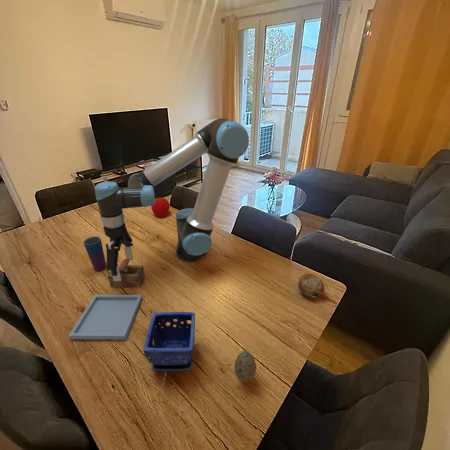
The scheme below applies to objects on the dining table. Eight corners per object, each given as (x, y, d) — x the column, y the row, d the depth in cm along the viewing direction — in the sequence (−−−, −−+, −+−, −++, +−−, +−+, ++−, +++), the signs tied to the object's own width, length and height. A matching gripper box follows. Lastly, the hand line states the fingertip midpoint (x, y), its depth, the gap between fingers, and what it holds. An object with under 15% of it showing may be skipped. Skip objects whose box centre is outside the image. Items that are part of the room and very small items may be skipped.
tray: (142, 299, 96) (141, 295, 95) (125, 340, 80) (124, 335, 79) (96, 299, 96) (95, 294, 95) (70, 340, 80) (68, 335, 79)
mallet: (134, 276, 107) (130, 258, 103) (129, 286, 102) (124, 268, 97) (127, 276, 107) (123, 258, 103) (122, 286, 102) (117, 267, 97)
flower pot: (198, 335, 81) (196, 310, 76) (195, 376, 70) (192, 350, 64) (157, 337, 81) (152, 311, 75) (148, 378, 69) (141, 351, 64)
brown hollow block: (144, 276, 108) (142, 265, 105) (140, 287, 101) (137, 276, 99) (117, 276, 108) (114, 265, 105) (111, 287, 102) (107, 276, 99)
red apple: (158, 222, 152) (155, 203, 146) (150, 216, 159) (147, 197, 153) (174, 216, 159) (172, 198, 153) (165, 211, 166) (163, 193, 160)
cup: (102, 273, 109) (93, 245, 102) (89, 271, 110) (79, 243, 103) (111, 264, 115) (104, 237, 108) (98, 262, 116) (90, 235, 109)
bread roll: (301, 302, 98) (309, 296, 91) (291, 278, 103) (299, 271, 97) (322, 298, 100) (332, 291, 94) (312, 274, 106) (320, 267, 99)
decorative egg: (254, 365, 72) (256, 343, 68) (255, 387, 67) (258, 364, 62) (234, 365, 73) (234, 343, 68) (234, 386, 67) (234, 364, 63)
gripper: (117, 209, 102) (126, 251, 112) (87, 241, 80) (101, 290, 90) (135, 209, 102) (142, 252, 112) (110, 242, 80) (121, 291, 90)
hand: (124, 269), depth 101 cm, fingers open, 13 cm apart
